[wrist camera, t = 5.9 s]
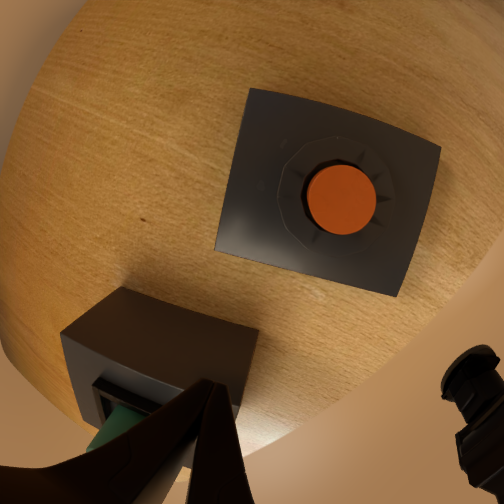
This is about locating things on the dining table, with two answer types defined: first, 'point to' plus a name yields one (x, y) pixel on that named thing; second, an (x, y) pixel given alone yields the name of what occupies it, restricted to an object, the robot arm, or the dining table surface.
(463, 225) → the dining table surface
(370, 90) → the dining table surface
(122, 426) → the bottle
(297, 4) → the dining table surface
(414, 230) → the control
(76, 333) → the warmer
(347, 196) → the button
